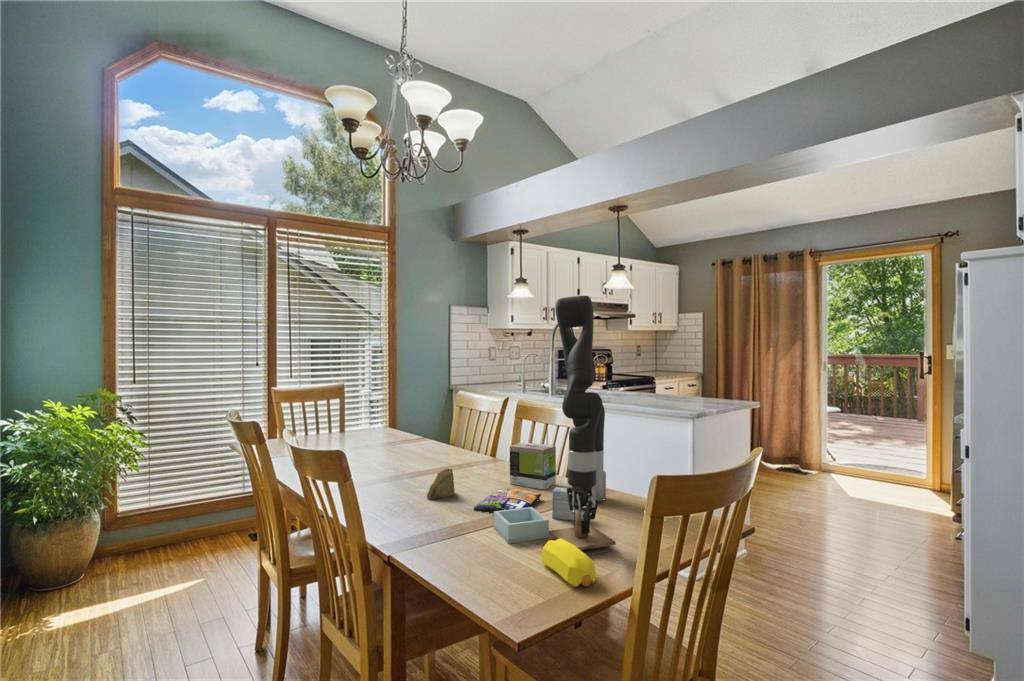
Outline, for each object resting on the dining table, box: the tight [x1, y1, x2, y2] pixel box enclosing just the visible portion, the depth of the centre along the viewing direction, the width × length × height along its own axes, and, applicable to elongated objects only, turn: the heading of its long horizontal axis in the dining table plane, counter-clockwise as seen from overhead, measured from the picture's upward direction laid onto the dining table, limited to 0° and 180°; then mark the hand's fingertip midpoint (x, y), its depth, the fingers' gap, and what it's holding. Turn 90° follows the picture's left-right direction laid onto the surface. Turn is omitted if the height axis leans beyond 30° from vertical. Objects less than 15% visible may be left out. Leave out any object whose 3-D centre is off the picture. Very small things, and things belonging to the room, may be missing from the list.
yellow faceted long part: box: [540, 538, 597, 588], centre depth 126 cm, size 18×7×8 cm
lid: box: [549, 508, 616, 550], centre depth 143 cm, size 13×13×8 cm
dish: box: [493, 506, 550, 545], centre depth 152 cm, size 12×12×5 cm
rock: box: [426, 468, 456, 500], centre depth 187 cm, size 11×9×10 cm
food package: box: [473, 488, 542, 514], centre depth 177 cm, size 22×25×4 cm
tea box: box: [509, 441, 557, 490], centre depth 202 cm, size 15×10×15 cm, turn 58°
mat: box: [551, 538, 614, 556], centre depth 143 cm, size 12×12×1 cm
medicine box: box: [551, 486, 574, 522], centre depth 165 cm, size 8×4×9 cm, turn 71°
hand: (581, 530), depth 143 cm, fingers closed on lid, 3 cm apart
